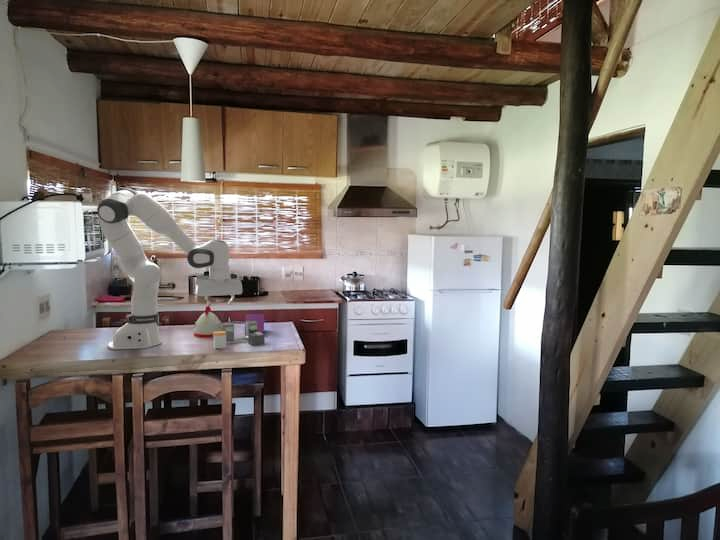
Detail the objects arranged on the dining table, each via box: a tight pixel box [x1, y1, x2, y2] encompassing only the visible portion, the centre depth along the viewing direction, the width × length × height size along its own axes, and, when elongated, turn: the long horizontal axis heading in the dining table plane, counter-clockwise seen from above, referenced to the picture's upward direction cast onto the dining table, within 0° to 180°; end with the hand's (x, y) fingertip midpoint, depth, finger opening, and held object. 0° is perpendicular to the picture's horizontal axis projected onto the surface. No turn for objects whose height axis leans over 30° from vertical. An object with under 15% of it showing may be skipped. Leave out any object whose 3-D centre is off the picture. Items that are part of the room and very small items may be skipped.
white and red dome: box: [193, 305, 222, 339], centre depth 246 cm, size 14×14×15 cm
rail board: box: [221, 321, 258, 345], centre depth 234 cm, size 20×7×9 cm, turn 116°
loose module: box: [213, 331, 227, 350], centre depth 221 cm, size 5×4×7 cm
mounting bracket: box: [244, 313, 265, 336], centre depth 251 cm, size 9×8×18 cm
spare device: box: [247, 332, 265, 347], centre depth 229 cm, size 6×5×5 cm
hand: (219, 305), depth 220 cm, fingers open, 8 cm apart
